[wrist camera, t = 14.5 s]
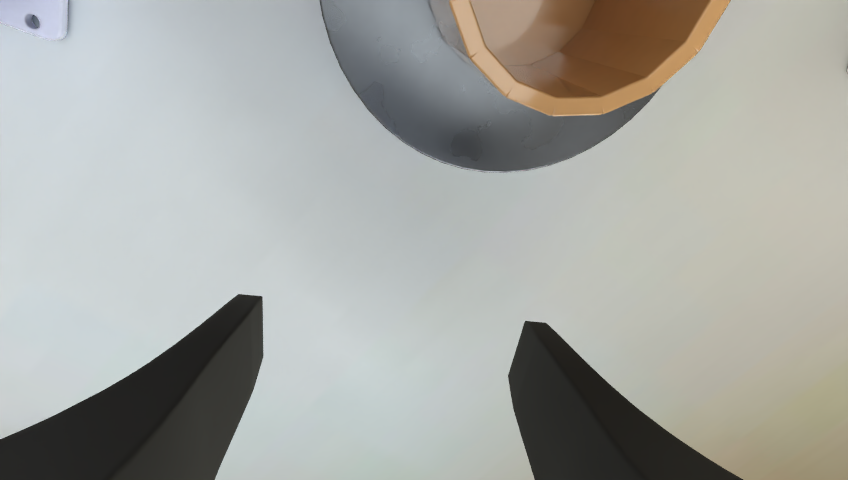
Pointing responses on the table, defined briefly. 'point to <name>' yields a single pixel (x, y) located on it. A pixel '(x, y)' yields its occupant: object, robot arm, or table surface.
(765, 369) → the table surface
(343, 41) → the grey disc
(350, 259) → the table surface
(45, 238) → the table surface
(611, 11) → the cup
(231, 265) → the table surface
